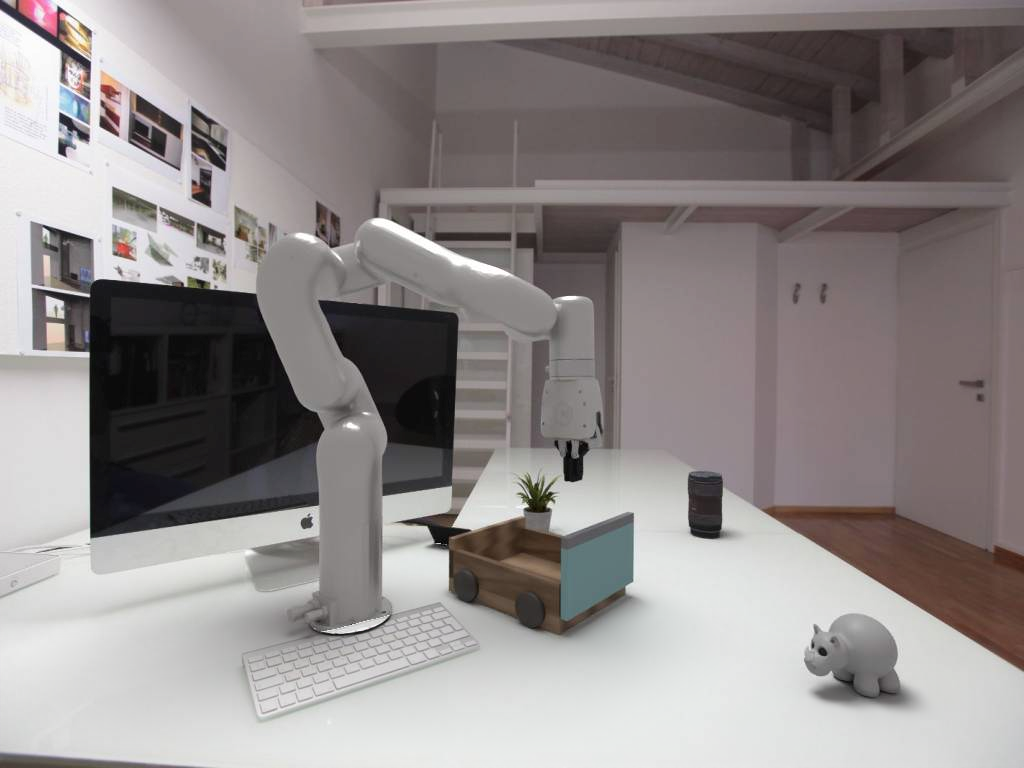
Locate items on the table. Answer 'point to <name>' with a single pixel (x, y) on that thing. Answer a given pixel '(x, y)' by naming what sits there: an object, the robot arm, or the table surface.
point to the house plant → (537, 503)
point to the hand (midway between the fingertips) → (573, 480)
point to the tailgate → (596, 563)
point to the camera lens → (705, 503)
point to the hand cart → (514, 573)
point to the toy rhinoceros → (856, 654)
